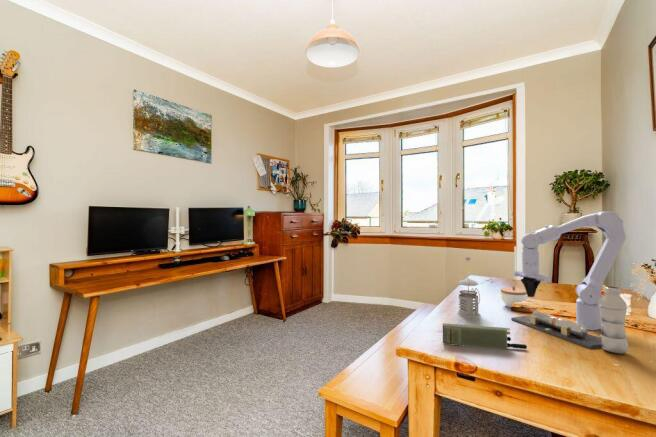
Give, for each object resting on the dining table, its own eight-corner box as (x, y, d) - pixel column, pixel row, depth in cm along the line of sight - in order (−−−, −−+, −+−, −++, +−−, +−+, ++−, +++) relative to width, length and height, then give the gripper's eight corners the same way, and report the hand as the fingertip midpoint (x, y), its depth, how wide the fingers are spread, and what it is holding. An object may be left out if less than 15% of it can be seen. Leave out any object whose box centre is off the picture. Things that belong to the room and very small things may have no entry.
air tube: (531, 321, 124) (531, 310, 125) (539, 321, 126) (539, 310, 126) (579, 337, 107) (579, 325, 107) (587, 337, 108) (588, 325, 108)
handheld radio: (442, 341, 110) (524, 348, 103) (443, 345, 107) (528, 353, 100) (442, 322, 110) (524, 328, 103) (443, 325, 106) (528, 332, 99)
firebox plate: (530, 317, 133) (530, 307, 133) (612, 345, 104) (612, 332, 104) (511, 320, 130) (511, 310, 130) (590, 349, 101) (590, 336, 101)
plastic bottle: (631, 358, 94) (630, 290, 94) (601, 353, 98) (600, 288, 98) (625, 350, 100) (624, 286, 100) (597, 345, 103) (596, 284, 103)
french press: (472, 310, 144) (471, 255, 144) (489, 318, 132) (488, 258, 132) (452, 311, 142) (451, 255, 142) (467, 320, 131) (466, 259, 131)
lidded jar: (518, 303, 154) (517, 283, 154) (532, 309, 144) (532, 288, 144) (496, 303, 154) (496, 284, 154) (509, 310, 143) (509, 289, 143)
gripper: (508, 261, 136) (508, 293, 136) (539, 266, 122) (539, 301, 122) (521, 260, 138) (521, 291, 138) (553, 265, 124) (553, 300, 124)
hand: (530, 296), depth 130 cm, fingers closed
